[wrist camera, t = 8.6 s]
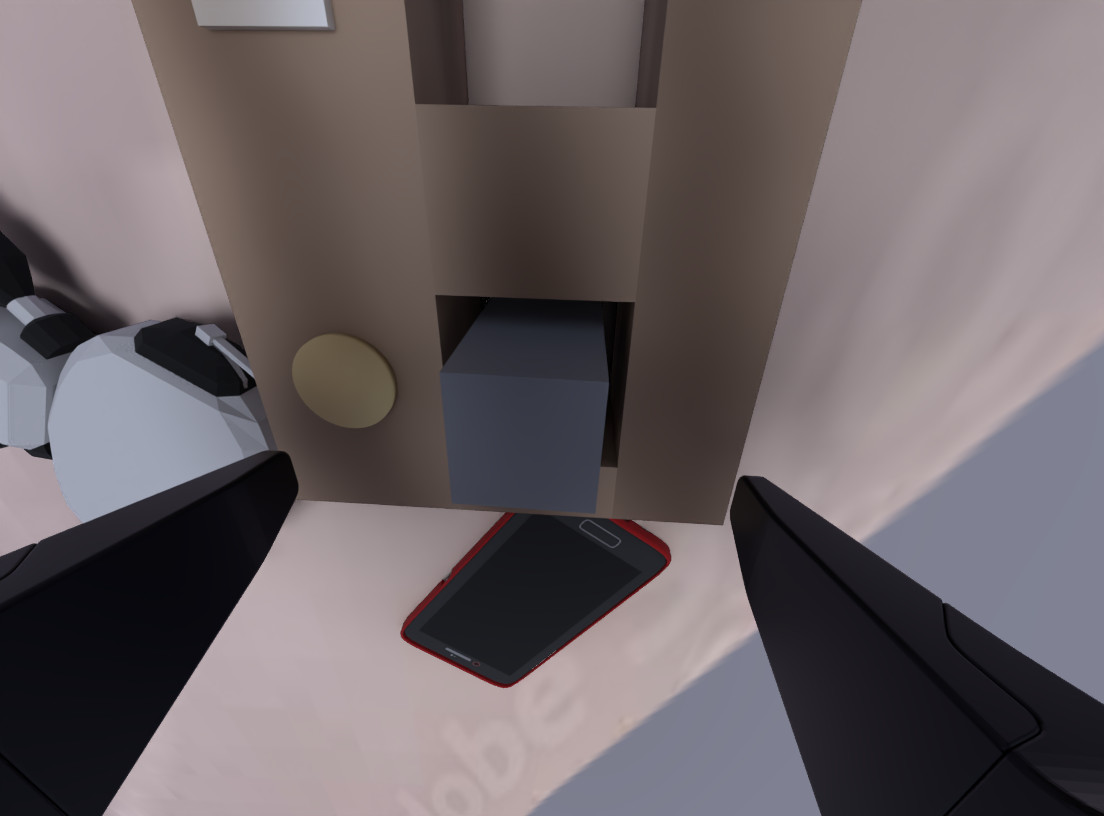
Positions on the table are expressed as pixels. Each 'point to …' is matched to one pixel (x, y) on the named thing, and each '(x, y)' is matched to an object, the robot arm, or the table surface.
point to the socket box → (498, 224)
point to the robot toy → (120, 398)
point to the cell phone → (532, 591)
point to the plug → (527, 406)
